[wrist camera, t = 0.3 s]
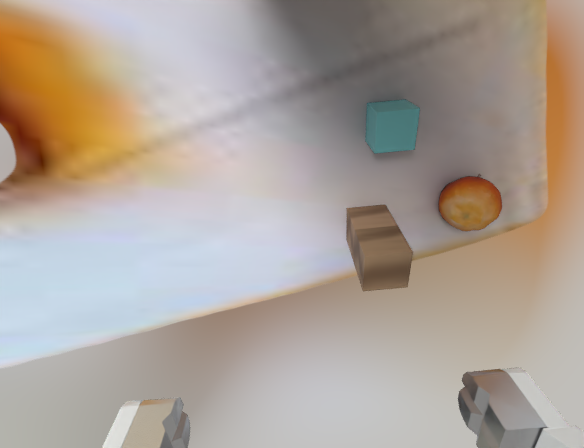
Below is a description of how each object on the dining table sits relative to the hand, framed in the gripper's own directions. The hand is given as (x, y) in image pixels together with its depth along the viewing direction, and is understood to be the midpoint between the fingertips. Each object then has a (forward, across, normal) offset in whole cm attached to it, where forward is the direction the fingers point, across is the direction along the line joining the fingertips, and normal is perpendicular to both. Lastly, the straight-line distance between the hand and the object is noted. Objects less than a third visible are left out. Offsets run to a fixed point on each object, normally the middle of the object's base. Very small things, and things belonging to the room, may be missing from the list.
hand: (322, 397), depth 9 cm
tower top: (+34, -11, +16) cm, 39 cm away
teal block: (+38, -13, -1) cm, 40 cm away
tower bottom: (+40, -11, +15) cm, 44 cm away
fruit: (+39, -25, +11) cm, 48 cm away
